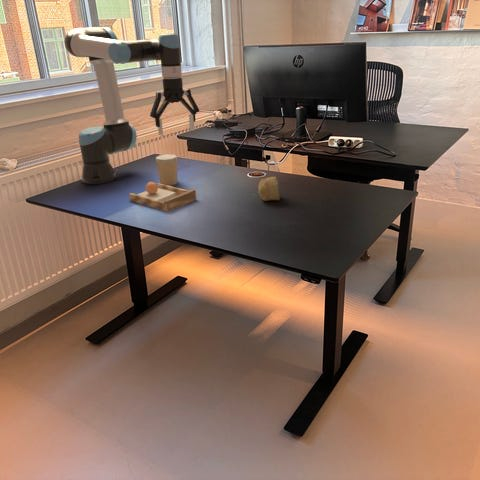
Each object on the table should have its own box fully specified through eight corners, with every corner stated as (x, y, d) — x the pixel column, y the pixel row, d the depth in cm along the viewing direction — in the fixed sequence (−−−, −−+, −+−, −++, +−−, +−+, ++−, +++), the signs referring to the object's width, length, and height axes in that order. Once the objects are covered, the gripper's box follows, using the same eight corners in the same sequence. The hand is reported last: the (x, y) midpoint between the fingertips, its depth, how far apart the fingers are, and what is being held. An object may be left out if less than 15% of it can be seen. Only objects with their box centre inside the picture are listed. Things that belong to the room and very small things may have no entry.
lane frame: (129, 200, 192) (128, 191, 190) (158, 189, 203) (157, 180, 202) (167, 211, 180) (166, 201, 178) (196, 199, 191) (195, 189, 189)
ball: (143, 194, 194) (142, 182, 192) (152, 191, 197) (151, 179, 195) (152, 196, 191) (150, 184, 189) (161, 193, 195) (159, 181, 192)
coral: (288, 186, 180) (264, 177, 178) (277, 208, 185) (254, 200, 183) (286, 177, 188) (263, 168, 187) (276, 198, 193) (254, 190, 191)
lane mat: (131, 199, 193) (131, 196, 192) (157, 190, 203) (156, 187, 202) (166, 210, 181) (166, 206, 181) (191, 199, 191) (191, 195, 190)
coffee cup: (181, 179, 215) (179, 153, 210) (176, 186, 207) (174, 159, 202) (161, 179, 216) (158, 154, 211) (156, 186, 208) (153, 159, 203)
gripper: (144, 81, 173) (150, 138, 182) (205, 75, 184) (208, 130, 193) (137, 79, 178) (144, 135, 188) (197, 74, 190) (200, 126, 199)
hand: (176, 132), depth 190 cm, fingers open, 13 cm apart
